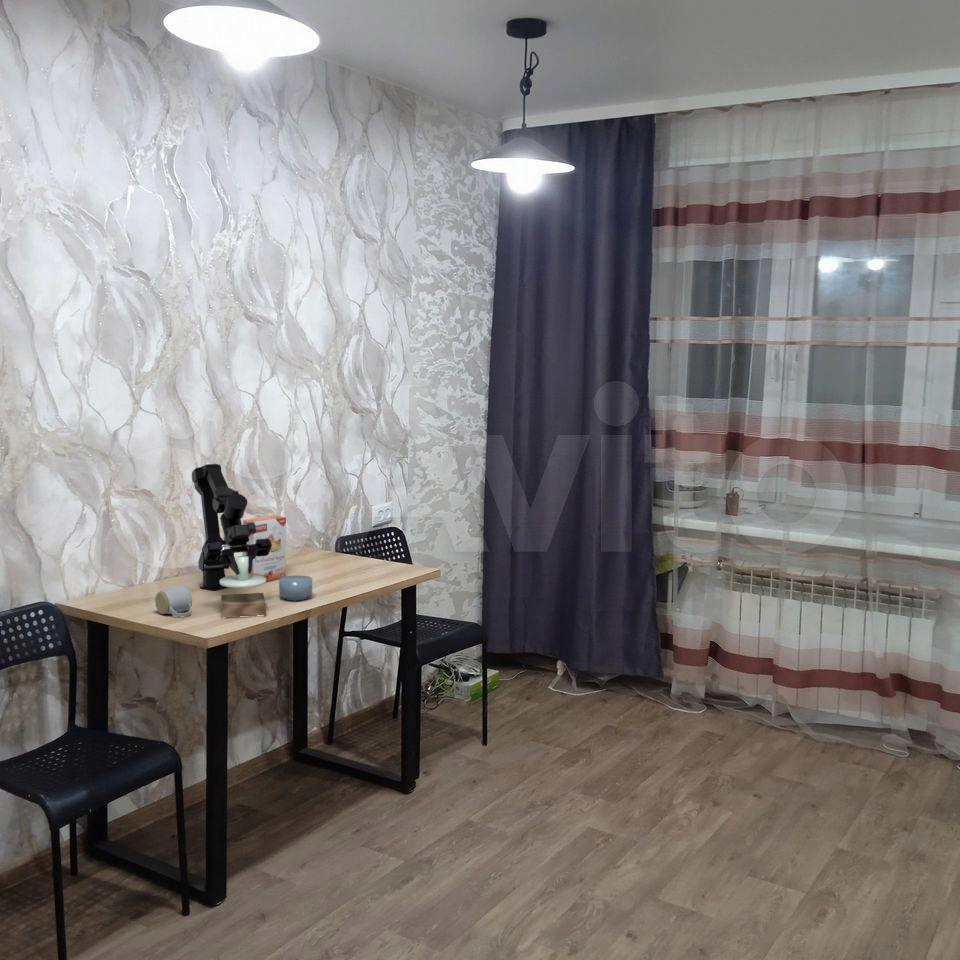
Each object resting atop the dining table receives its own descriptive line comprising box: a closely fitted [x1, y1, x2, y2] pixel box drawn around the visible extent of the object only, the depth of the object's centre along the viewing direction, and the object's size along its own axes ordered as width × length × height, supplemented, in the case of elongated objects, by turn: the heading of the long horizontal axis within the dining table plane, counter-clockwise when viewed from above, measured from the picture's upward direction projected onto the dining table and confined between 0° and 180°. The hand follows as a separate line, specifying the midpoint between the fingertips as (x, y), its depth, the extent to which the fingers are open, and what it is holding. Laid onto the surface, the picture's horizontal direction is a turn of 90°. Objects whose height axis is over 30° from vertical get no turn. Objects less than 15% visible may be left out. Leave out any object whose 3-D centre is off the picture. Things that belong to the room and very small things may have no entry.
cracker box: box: [242, 515, 287, 582], centre depth 322 cm, size 14×6×21 cm, turn 143°
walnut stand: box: [220, 592, 267, 618], centre depth 283 cm, size 12×12×4 cm
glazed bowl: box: [278, 574, 313, 601], centre depth 301 cm, size 10×10×6 cm
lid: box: [220, 555, 267, 589], centre depth 282 cm, size 13×13×8 cm
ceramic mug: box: [154, 584, 193, 618], centre depth 280 cm, size 11×8×8 cm
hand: (244, 573), depth 281 cm, fingers closed on lid, 3 cm apart
